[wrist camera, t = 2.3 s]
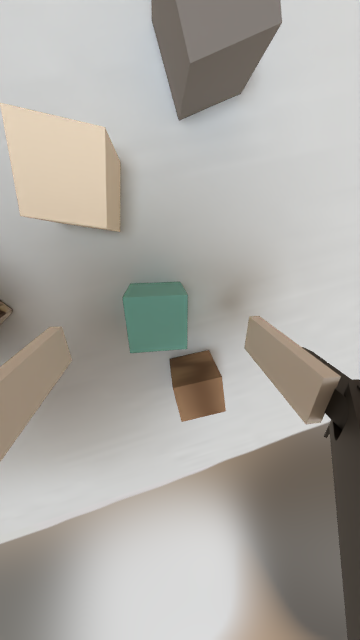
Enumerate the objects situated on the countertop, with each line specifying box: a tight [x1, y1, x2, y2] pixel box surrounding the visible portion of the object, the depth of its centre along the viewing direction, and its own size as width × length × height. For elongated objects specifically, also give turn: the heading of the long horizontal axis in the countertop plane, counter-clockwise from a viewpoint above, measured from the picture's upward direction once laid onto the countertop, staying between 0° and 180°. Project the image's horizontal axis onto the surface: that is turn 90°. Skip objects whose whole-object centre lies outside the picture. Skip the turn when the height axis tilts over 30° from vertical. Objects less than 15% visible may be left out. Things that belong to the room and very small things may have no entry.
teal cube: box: [123, 282, 188, 353], centre depth 17 cm, size 5×5×5 cm
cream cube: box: [0, 103, 120, 232], centre depth 13 cm, size 5×5×5 cm
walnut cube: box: [169, 350, 226, 422], centre depth 21 cm, size 5×5×5 cm
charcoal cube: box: [152, 0, 282, 120], centre depth 11 cm, size 5×5×5 cm
